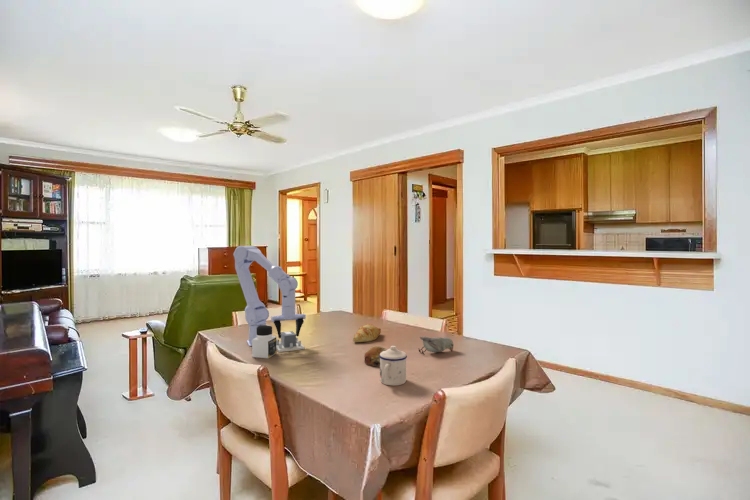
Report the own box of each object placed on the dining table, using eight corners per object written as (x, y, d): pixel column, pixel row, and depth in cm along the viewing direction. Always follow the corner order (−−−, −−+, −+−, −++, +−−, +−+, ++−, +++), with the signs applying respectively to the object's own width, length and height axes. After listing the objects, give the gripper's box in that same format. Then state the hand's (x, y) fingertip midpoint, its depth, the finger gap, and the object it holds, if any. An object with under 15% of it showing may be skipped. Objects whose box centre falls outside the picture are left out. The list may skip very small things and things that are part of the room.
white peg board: (273, 344, 173) (273, 338, 173) (297, 342, 178) (297, 336, 178) (278, 352, 162) (278, 345, 162) (304, 349, 167) (304, 342, 167)
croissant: (358, 352, 175) (365, 338, 172) (342, 339, 179) (349, 324, 177) (383, 341, 192) (390, 327, 190) (368, 329, 197) (374, 316, 195)
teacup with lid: (385, 374, 136) (385, 341, 136) (410, 378, 133) (410, 344, 132) (371, 387, 125) (371, 350, 125) (398, 391, 121) (398, 354, 121)
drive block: (281, 343, 172) (281, 332, 172) (292, 342, 175) (292, 330, 174) (284, 347, 166) (284, 335, 166) (296, 346, 168) (296, 334, 168)
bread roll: (391, 370, 151) (394, 349, 154) (384, 366, 142) (387, 344, 145) (367, 367, 154) (370, 347, 157) (359, 363, 146) (362, 342, 149)
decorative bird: (456, 352, 164) (456, 334, 163) (422, 357, 157) (422, 338, 157) (449, 349, 169) (449, 331, 168) (416, 353, 162) (416, 335, 162)
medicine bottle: (268, 358, 154) (268, 328, 153) (251, 357, 155) (251, 327, 155) (276, 353, 161) (276, 324, 160) (260, 352, 162) (260, 323, 162)
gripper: (273, 308, 163) (273, 340, 163) (307, 305, 169) (307, 337, 169) (270, 305, 169) (270, 336, 170) (303, 303, 175) (303, 333, 176)
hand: (288, 336), depth 170 cm, fingers open, 7 cm apart
